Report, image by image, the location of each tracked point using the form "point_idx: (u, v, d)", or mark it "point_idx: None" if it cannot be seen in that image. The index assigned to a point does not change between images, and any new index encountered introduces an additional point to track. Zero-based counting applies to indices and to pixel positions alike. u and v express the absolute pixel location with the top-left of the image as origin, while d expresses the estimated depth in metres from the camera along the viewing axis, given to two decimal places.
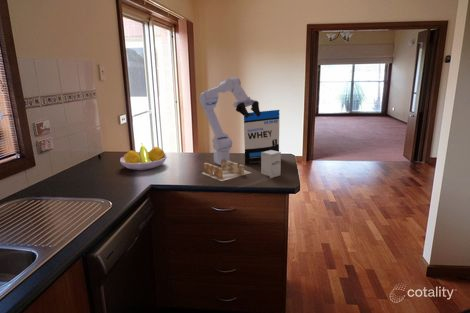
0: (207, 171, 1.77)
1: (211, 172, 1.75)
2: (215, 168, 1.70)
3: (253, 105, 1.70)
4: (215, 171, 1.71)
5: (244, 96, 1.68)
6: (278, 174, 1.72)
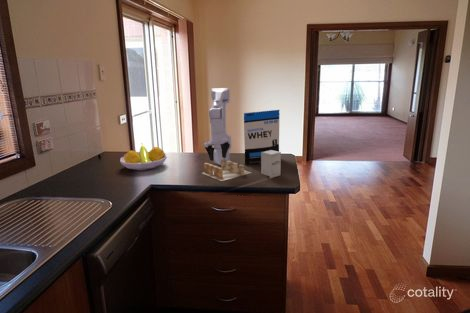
0: (207, 171, 1.77)
1: (211, 172, 1.75)
2: (215, 168, 1.70)
3: (223, 145, 1.69)
4: (215, 171, 1.71)
5: (218, 138, 1.63)
6: (278, 174, 1.72)
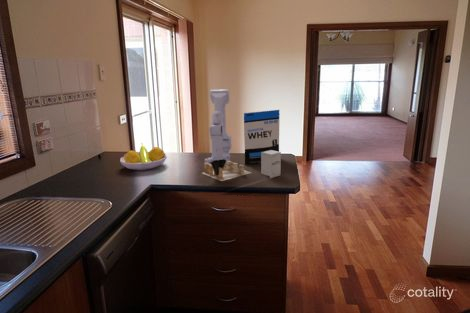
0: (207, 171, 1.77)
1: (211, 172, 1.75)
2: None
3: (220, 161, 1.69)
4: None
5: (219, 154, 1.65)
6: (278, 174, 1.72)
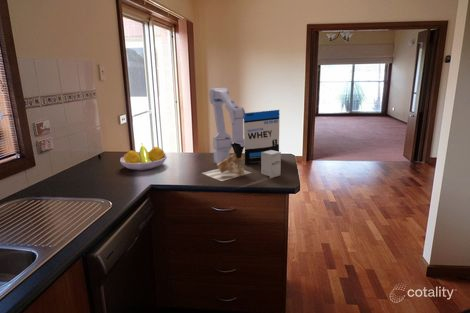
0: (225, 168, 1.72)
1: (229, 165, 1.73)
2: (234, 156, 1.73)
3: None
4: (236, 158, 1.73)
5: None
6: (278, 174, 1.72)
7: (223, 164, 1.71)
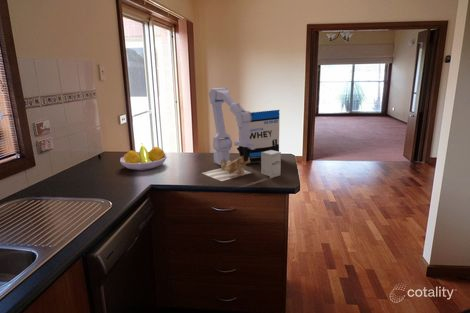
0: (234, 169, 1.72)
1: None
2: (243, 157, 1.75)
3: (243, 148, 1.76)
4: (243, 160, 1.75)
5: None
6: (278, 174, 1.72)
7: (233, 165, 1.71)
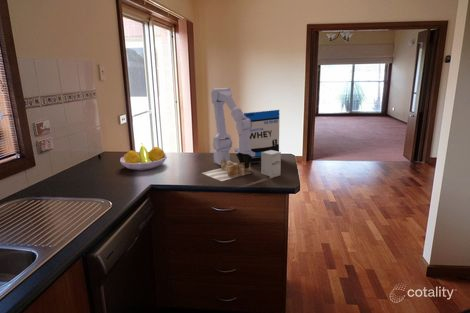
0: (233, 173, 1.73)
1: None
2: (244, 164, 1.76)
3: (243, 154, 1.78)
4: (244, 167, 1.77)
5: None
6: (278, 174, 1.72)
7: (233, 168, 1.72)
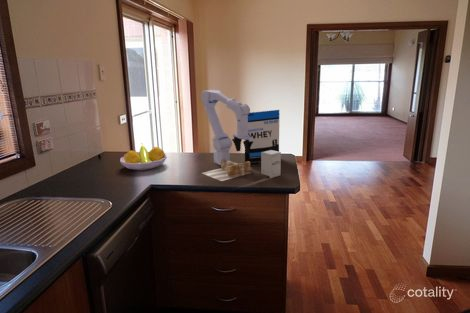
0: (233, 173, 1.73)
1: None
2: (244, 164, 1.76)
3: (238, 139, 1.84)
4: (244, 167, 1.77)
5: None
6: (278, 174, 1.72)
7: (233, 168, 1.72)
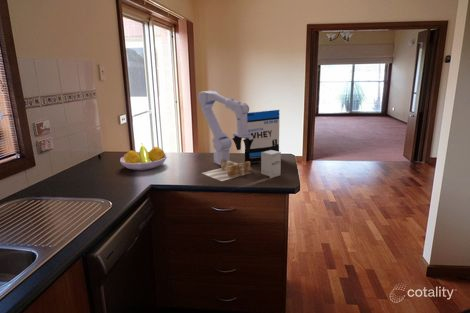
0: (233, 173, 1.73)
1: None
2: (244, 164, 1.76)
3: (239, 138, 1.85)
4: (244, 167, 1.77)
5: None
6: (278, 174, 1.72)
7: (233, 168, 1.72)
